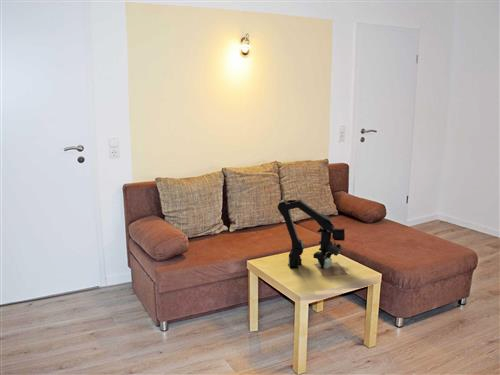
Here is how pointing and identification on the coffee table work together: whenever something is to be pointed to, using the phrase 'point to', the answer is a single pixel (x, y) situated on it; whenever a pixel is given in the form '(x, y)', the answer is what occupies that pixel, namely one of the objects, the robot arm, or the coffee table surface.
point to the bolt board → (332, 270)
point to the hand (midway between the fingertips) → (324, 266)
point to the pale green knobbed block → (326, 263)
